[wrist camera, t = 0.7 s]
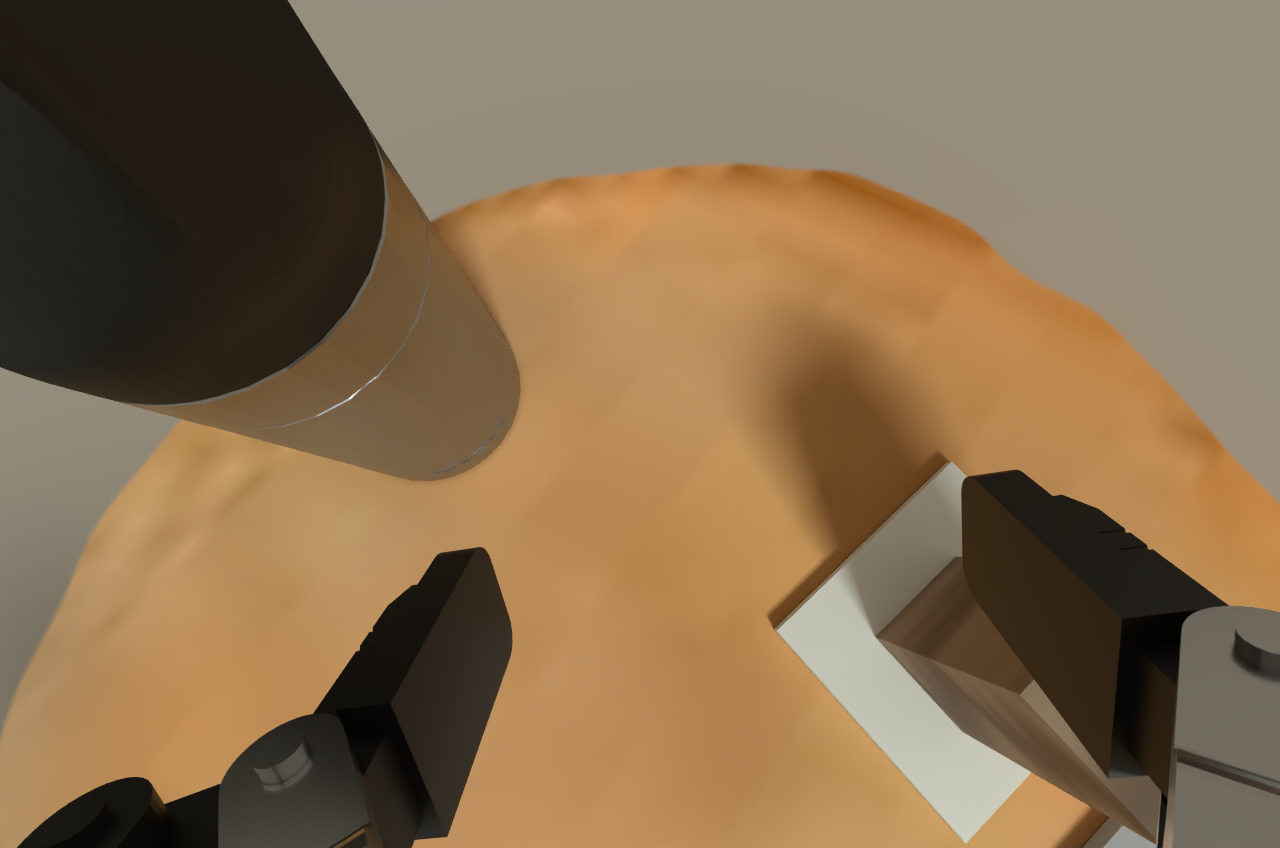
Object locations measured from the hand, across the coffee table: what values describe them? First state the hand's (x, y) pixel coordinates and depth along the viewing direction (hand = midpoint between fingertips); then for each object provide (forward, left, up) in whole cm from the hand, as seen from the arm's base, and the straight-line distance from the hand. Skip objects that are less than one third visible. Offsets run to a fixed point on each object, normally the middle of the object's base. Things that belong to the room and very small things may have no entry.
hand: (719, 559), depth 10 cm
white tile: (+12, +7, -20) cm, 24 cm away
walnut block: (+12, +7, -19) cm, 24 cm away
